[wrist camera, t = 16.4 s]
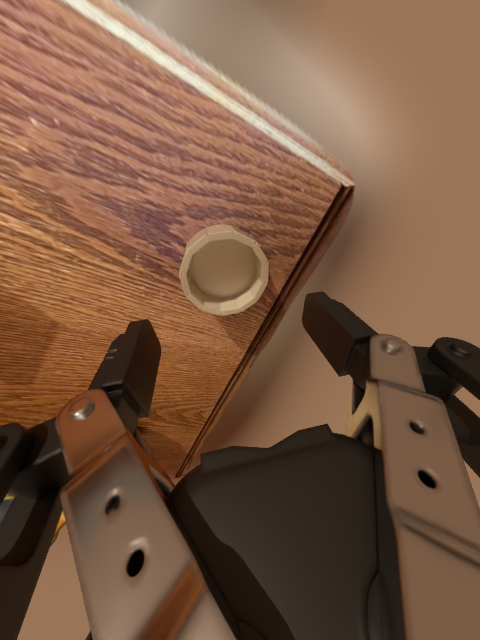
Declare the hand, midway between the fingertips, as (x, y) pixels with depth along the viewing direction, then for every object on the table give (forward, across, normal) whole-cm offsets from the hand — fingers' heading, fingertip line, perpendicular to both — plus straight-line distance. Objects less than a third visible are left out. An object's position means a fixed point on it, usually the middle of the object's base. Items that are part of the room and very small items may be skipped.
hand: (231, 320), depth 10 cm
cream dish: (+8, 0, 0) cm, 8 cm away
